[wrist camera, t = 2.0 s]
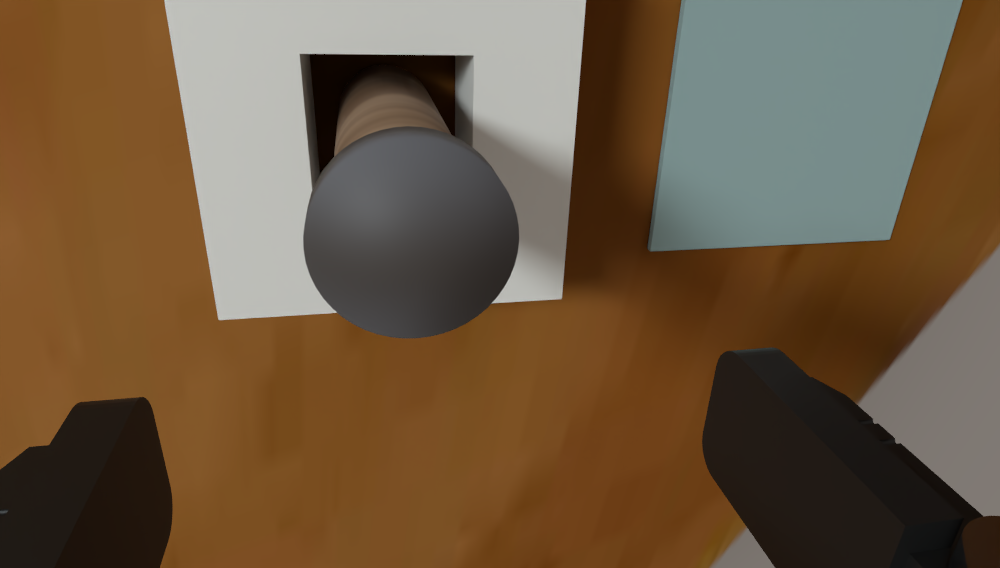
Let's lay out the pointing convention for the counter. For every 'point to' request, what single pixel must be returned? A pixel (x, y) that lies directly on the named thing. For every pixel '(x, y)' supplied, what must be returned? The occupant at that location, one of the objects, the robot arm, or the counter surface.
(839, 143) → the mat
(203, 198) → the eye block
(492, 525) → the counter surface
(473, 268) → the pin
